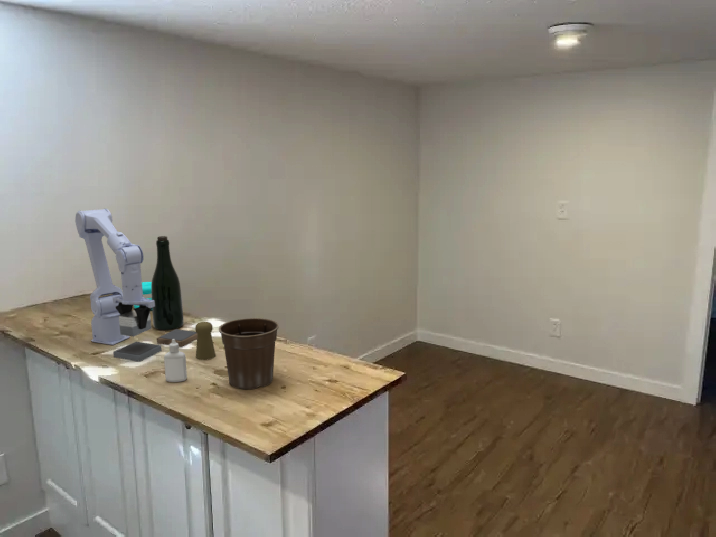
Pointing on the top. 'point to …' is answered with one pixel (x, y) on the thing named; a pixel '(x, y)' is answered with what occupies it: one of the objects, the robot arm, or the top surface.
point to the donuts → (145, 290)
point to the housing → (132, 324)
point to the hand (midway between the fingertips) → (135, 327)
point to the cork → (204, 341)
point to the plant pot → (249, 351)
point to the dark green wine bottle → (166, 290)
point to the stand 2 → (178, 337)
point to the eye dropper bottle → (175, 364)
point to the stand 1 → (137, 351)
